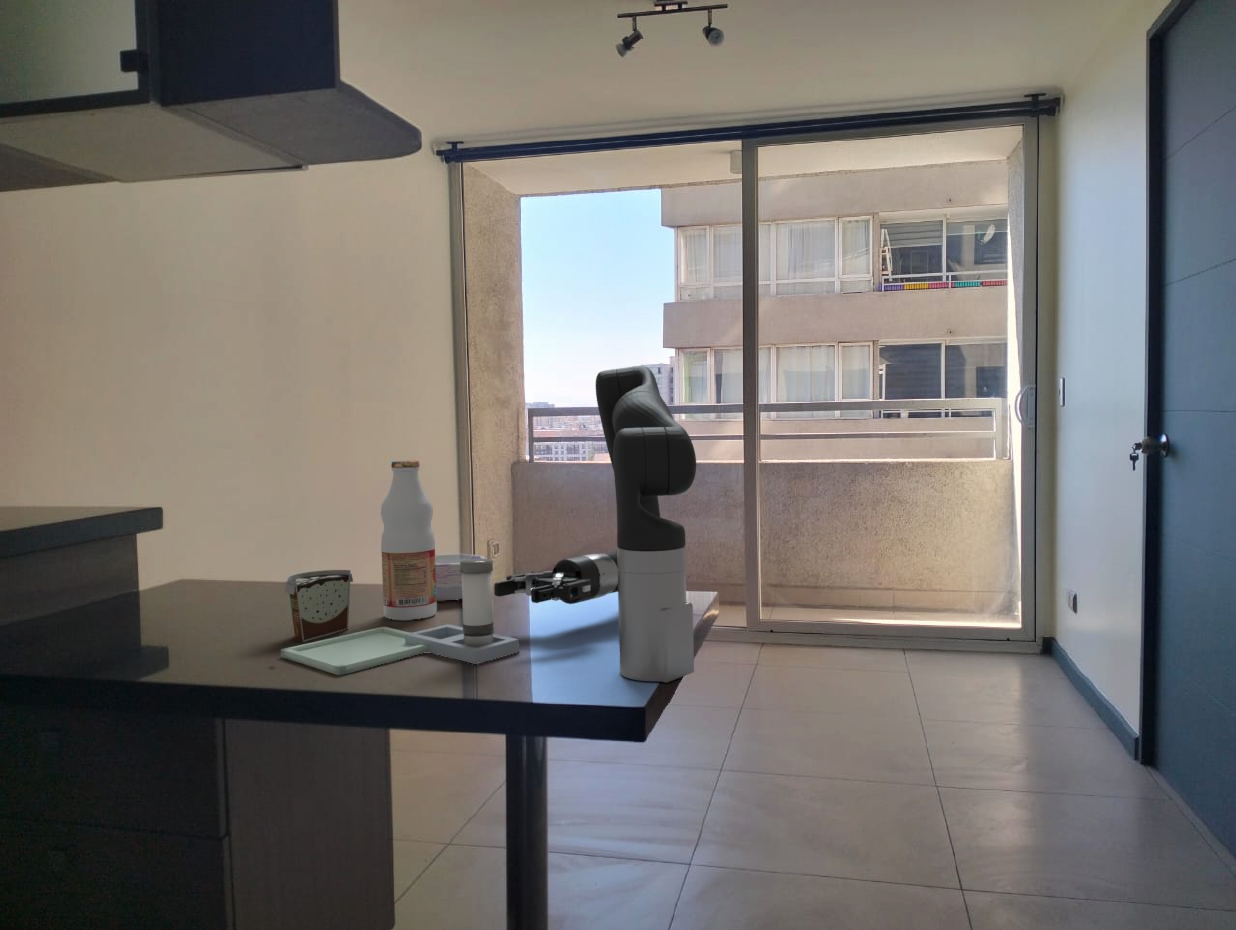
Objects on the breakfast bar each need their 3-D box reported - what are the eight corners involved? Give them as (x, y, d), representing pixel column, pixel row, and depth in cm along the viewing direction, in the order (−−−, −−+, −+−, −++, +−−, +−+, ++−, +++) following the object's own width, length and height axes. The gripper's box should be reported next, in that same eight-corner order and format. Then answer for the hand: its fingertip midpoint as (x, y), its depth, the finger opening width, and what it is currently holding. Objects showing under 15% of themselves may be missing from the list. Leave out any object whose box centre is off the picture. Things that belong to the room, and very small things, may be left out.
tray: (444, 648, 135) (444, 640, 135) (339, 675, 121) (339, 667, 121) (384, 633, 145) (383, 626, 145) (281, 657, 132) (281, 649, 132)
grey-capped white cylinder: (502, 653, 131) (499, 560, 131) (477, 660, 128) (474, 564, 127) (481, 648, 134) (478, 557, 134) (456, 655, 131) (453, 561, 130)
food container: (330, 624, 153) (327, 567, 153) (354, 627, 150) (352, 569, 150) (270, 640, 143) (267, 579, 142) (295, 644, 140) (292, 581, 139)
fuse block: (519, 652, 131) (518, 639, 131) (475, 665, 125) (474, 651, 125) (448, 636, 142) (448, 624, 142) (405, 647, 136) (404, 634, 136)
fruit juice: (372, 617, 158) (367, 462, 157) (414, 608, 165) (409, 459, 164) (406, 623, 152) (400, 462, 151) (448, 613, 160) (443, 460, 158)
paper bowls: (501, 591, 180) (500, 553, 179) (462, 607, 166) (460, 565, 165) (437, 588, 185) (436, 551, 185) (394, 602, 171) (393, 562, 171)
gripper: (555, 552, 153) (483, 564, 141) (616, 559, 143) (545, 573, 131) (556, 595, 153) (484, 611, 141) (617, 604, 144) (546, 623, 131)
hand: (513, 593), depth 136 cm, fingers open, 8 cm apart
